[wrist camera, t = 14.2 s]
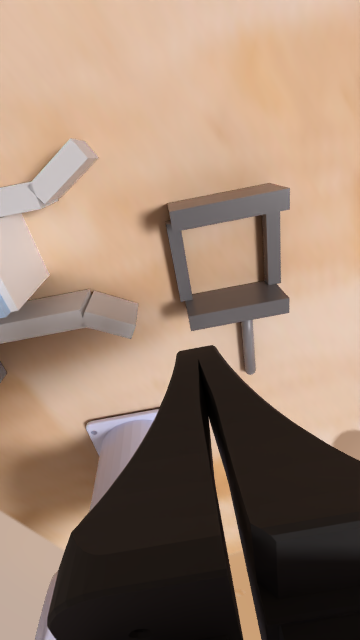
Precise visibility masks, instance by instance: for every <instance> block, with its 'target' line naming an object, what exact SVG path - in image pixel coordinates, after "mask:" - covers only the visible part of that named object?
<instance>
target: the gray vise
mask: <svg viewBox="0 0 360 640" xmlns="http://www.w3.org/2000/svg"><path fill="white" fill-rule="evenodd" d="M167 205H168V210H169V216H170V221H167V222H166V227H167V233H168V238H169V243H170V248H171V253H172V259H173V264H174V269H175V274H176V279H177V285H178V290H179V295H180V300H181V302H182V301H185V302H186V308H187V313H188V318H189V323H190V328H191V331H194V330H199V329H205V328H210V327H215V326H221V325H226V324H231V323H237V322H241V328H242V339H243V351H244V362H245V371H246V373H247V374H249V375H252V374H254V373H255V371H256V366H255V351H254V335H253V319H258V318H264V317H269V316H274V315H280V314H285V313H289V297H288V296H287V295H286V294H285V293H284V292H283V291H282V290H281V288H280V287H279V286H278V285H277V284H278V283H281V260H280V211H284V210H289V209H290V188H287V187H283V186H279V185H275V184H271V183H268V184H263V185H258V186H253V187H247V188H242V189H237V190H232V191H227V192H222V193H217V194H212V195H207V196H202V197H197V198H191V199H186V200H181V201H176V202H171V203H167ZM258 215H262V225H263V251H264V277H265V281H261V282H255V283H250V284H245V285H239V286H234V287H229V288H224V289H218V290H213V291H208V292H202V293H197V294H192V292H191V286H190V280H189V274H188V268H187V262H186V256H185V250H184V245H183V239H182V233H181V230H186V229H191V228H196V227H202V226H207V225H212V224H217V223H222V222H227V221H233V220H238V219H243V218H248V217H253V216H258Z"/></svg>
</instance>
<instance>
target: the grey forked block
mask: <svg viewBox="0 0 360 640" xmlns="http://www.w3.org/2000/svg"><path fill="white" fill-rule="evenodd" d="M98 158H99V157H98V156H97V155H96V154H95V152H94V151H93V150H92V149H91V148H90V147H89V145H88V144H87V143H86V142H85V141H82V140H77V139H72V138H70V139H69V140H68V142H67V143H66V144H65V145H64V146H63V147H62V148H61V149H60V150H59V152H58V153H57V154H56V155H55V156H54V157H53V158H52V159H51V160H50V162H49V163H48V164H47V165H46V166H45V167H44V168H43V169H42V170H41V172H40V173H39V174H38V175H37V176H36V177H35V178H34V179H33V181H31V182H26V183H21V184H16V185H11V186H6V187H1V188H0V217H3V216H8V215H13V214H18V213H23V212H28V211H33V210H38V209H42V208H44V207H46V206H48V205H51V204H53V203H55V202H57V201H59V200H58V198H60V197H62V196H63V195H64V194H65V193H66V192H67V191H68V190H69V189H70V188H71V187H72V186H73V185H74V183H75V182H76V181H77V180H78V179H79V178H80V177H81V176H82V175H83V174H84V173H85V172H86V171H87V170H88V169H89V168H90V167H91V166H92V165H93V164H94V162H95V161H96V160H97V159H98ZM137 311H138V303H135V302H132V301H128V300H125V299H121V298H118V297H114V296H111V295H108V294H104V293H101V292H97V291H94V292H93V294H91V292H90V289H87V290H82V291H77V292H71V293H66V294H61V295H56V296H50V297H45V298H40V299H35V300H30V301H26V302H25V304H24V305H23V306H22V307H21V308H20V309H19V310H18V311H14V312H10V313H9V315H8V316H7V317H4V318H0V344H2V343H7V342H12V341H18V340H23V339H28V338H34V337H39V336H44V335H50V334H55V333H60V332H65V331H71V330H76V329H81V328H86V327H87V328H91V329H95V330H99V331H102V332H106V333H110V334H114V335H118V336H121V337H125V338H129V339H131V338H132V335H133V332H134V329H135V326H136V320H137ZM6 374H7V372H6V370H5V369H4V367H3V365H2V364H1V362H0V383H1V381H2V380H3V378H4V377H5V375H6Z"/></svg>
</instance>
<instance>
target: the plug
mask: <svg viewBox="0 0 360 640" xmlns="http://www.w3.org/2000/svg"><path fill="white" fill-rule="evenodd" d="M49 275H50V274H49V272H48V270H47V268H46V265H45V263H44V261H43V259H42V257H41V255H40V252H39V250H38V248H37V246H36V244H35V241H34V239H33V237H32V235H31V233H30V231H29V228H28V226H27V224H26V222H25V220H24V218H23V215H22V213H18V214H13V215H8V216H3V217H0V318H4V317H7V316H8V315H9V313H10V312H14V311H18V310H19V309H20V308H21V307H22V306H23V305H24V304H25V302H26V301H27V300H28V299H29V298H30V297H31V296H32V295H33V293H34V292H35V291H36V290H37V289H38V288H39V287H40V285H41V284H42V283H43V282H44V281H45V280H46V279H47V278H48V276H49Z"/></svg>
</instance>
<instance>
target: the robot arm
mask: <svg viewBox="0 0 360 640" xmlns="http://www.w3.org/2000/svg"><path fill="white" fill-rule="evenodd" d="M208 416H209V417H208ZM209 420H210V423H211V426H212V429H213V433H214V436H215V439H216V443H217V446H218V449H219V452H220V456H221V459H222V462H223V466H224V469H225V472H226V476H227V480H228V483H229V487H230V492H231V497H232V501H233V506H234V511H235V515H236V520H237V525H238V529H239V534H240V539H241V544H242V548H243V553H244V558H245V563H246V567H247V572H248V577H249V581H250V586H251V591H252V596H253V601H254V605H255V610H256V615H257V620H258V625H259V630H260V634H261V639H262V640H360V461H359V460H356V459H355V458H353V457H351V456H348V455H347V454H345V453H343V452H341V451H339V450H338V449H336V448H334V447H332V446H330V445H329V444H327V443H325V442H324V441H322V440H320V439H319V438H317V437H316V436H314V435H312V434H311V433H309V432H308V431H306V430H305V429H303V428H301V427H300V426H298V425H297V424H295V423H294V422H292V421H291V420H290V419H288V418H287V417H285V416H284V415H283V414H281V413H280V412H279V411H277V410H276V409H275V408H273V407H272V406H271V405H270V404H268V403H267V402H266V401H265V400H264V399H262V398H261V397H260V396H259V395H258V394H257V393H256V392H255V391H254V390H252V389H251V388H250V387H249V386H248V385H247V384H246V383H245V382H244V381H243V380H242V379H241V378H240V377H239V376H238V375H237V373H236V372H235V371H234V370H233V369H232V368H231V367H230V366H229V365H228V363H227V362H226V361H225V360H224V358H223V357H222V356H221V354H220V353H219V351H218V350H217V348H216V347H215V346H213V345H210V346H205V347H200V348H194V349H189V350H183V351H179V352H178V353H177V356H176V362H175V367H174V370H173V374H172V377H171V380H170V383H169V386H168V389H167V392H166V394H165V397H164V399H163V401H162V403H161V406H160V408H159V409H155V410H150V411H144V412H139V413H133V414H128V415H122V416H117V417H111V418H105V419H100V420H94V421H90V422H88V423H87V425H86V430H87V432H88V434H89V436H90V438H91V440H92V442H93V445H94V447H95V449H96V451H97V453H98V455H99V462H98V468H97V473H96V478H95V484H94V489H93V494H92V500H91V505H90V510H89V513H88V514H87V515H86V517H85V518H84V519H83V520H82V521H81V522H80V523H79V525H78V526H77V527H76V528H75V529H74V530H73V531H72V532H71V535H70V538H69V541H68V543H67V546H66V549H65V552H64V555H63V558H62V561H61V564H60V567H59V570H58V571H57V572H56V573H55V574H54V575H53V577H52V579H51V582H50V585H49V588H48V591H47V594H46V598H45V601H44V605H43V609H42V613H41V616H40V620H39V624H38V628H37V632H36V637H35V640H243V636H242V631H241V625H240V619H239V614H238V608H237V603H236V597H235V592H234V586H233V581H232V575H231V570H230V564H229V559H228V553H227V548H226V542H225V537H224V531H223V526H222V520H221V515H220V509H219V504H218V498H217V492H216V486H215V479H214V470H213V459H212V449H211V438H210V428H209Z"/></svg>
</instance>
